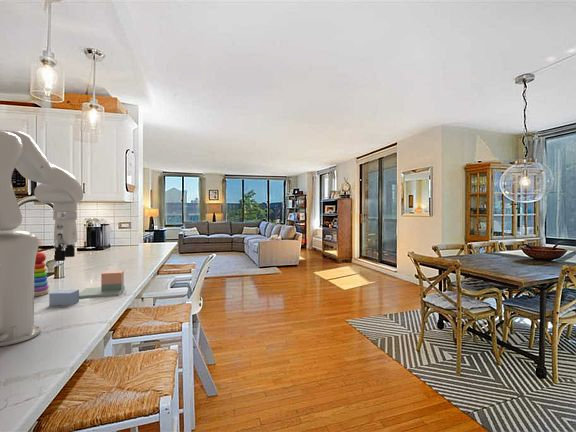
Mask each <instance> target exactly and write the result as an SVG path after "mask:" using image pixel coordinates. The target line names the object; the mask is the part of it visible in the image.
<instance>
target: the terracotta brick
mask: <svg viewBox="0 0 576 432" xmlns="http://www.w3.org/2000/svg"><path fill="white" fill-rule="evenodd" d="M124 272H125V271H124V270H108V271H106V270H103V272H102V273H101V274H100V275H101V277H100V278H101V279H100V285H104V284H121V283H122V282H123V281H124V282H125V280H124V279H125V278H124V277H125V276H124V275H125V274H124Z"/></svg>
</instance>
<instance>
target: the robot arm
mask: <svg viewBox="0 0 576 432" xmlns="http://www.w3.org/2000/svg"><path fill="white" fill-rule="evenodd" d="M15 169H16V170H17V171H18V173H19V174H20V175H21V176H22V177H23V178H25V179H26V180H28V181H32V182H35V183H38V185H37V186H35V188H34V192H33V193H34V197H35V198H36V200H38V201H39V202H40V203H44V204H52V208H53V209H52V211H53V212H52V215H53V216H52V220H53V221H54V228H53V229H54V230H53V243H54V245H53V246H54V247H53V248H54V249H53V250H54V261H55V262H64V261H66V258H74V257H75V255H76V254H75V253H76V252H75V251H76V250H75V249H76V248H75V247H76V243H78V231H77V230H78V229H77V227H78V226H77V220H78V204H79V203H80V202H81V201H82V200H83V198H84V190H83V188H82V186H81V184H80V182H79V180H78V179H77V178H76V177H75V176H74V175H73V174H71V172H69V171H67V170H64V169H63V168H61V167H60V166H58V165H55V164H53V163H51V162H50V161H49V160H48V158H47V157H46V155H45V154H44V153H43V151H42V149H41V148H40V147H39V145H38V144H37V143H36V142H35V140H34V139H33V138H32V137H31V136H30V135H29V134H27V133H25V132H22V131H18V130H10V129H9V130H8V129H0V347H4V346H5V347H6V346H10V345H14V344H18V343H21V342H25V341H28V340H30V339H33V338H34V337H37V336H38V335H39V334H40V333H41V331H42V330H41V329H42V328H41V326H39V325H35V296H34V268H35V260H36V255H37V252H39V251H38V250H39V243H40V242H39V239H38V237H37V236H36V234H34V233H32V232H30V231H27V230H15V229H18V228H19V227H20V226H21V224H22V222H23V216H22V215H23V214H22V212H21V207H20V206H19V203H18V200H17V197H16V194H15V191H14V188H13V183H12V177H13V173H14V171H15Z"/></svg>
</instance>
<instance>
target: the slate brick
mask: <svg viewBox="0 0 576 432" xmlns="http://www.w3.org/2000/svg"><path fill="white" fill-rule="evenodd" d="M79 293H80V289H56V290H54V291H52V292H48V298H49V302H48V304H49V305H48V306H52V305H61V306H73V305H74V304H76V303H78V302H79V301H80V298H79Z"/></svg>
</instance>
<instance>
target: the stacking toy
mask: <svg viewBox="0 0 576 432" xmlns="http://www.w3.org/2000/svg"><path fill="white" fill-rule="evenodd" d="M46 259H47V257H46V254H45V253H44V252H41V251H37V255H36V260H35V268H34V297H39V296H43V295H46V294H49V293H50V289H49V287H50V286H49V284H48V283H49V281H48V280H47V279H48V276H47V274H48V273H47V267H46V263H45V261H46Z"/></svg>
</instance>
